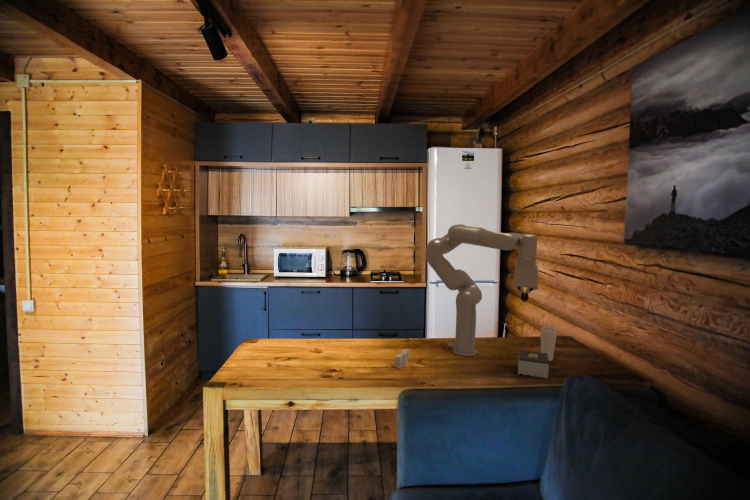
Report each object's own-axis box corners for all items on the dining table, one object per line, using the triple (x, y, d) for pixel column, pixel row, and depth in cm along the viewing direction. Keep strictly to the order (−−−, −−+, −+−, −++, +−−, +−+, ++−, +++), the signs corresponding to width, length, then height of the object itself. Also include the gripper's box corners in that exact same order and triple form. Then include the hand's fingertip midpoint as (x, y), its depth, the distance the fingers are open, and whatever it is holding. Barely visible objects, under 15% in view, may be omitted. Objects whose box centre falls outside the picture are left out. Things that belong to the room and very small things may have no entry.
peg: (527, 369, 183) (528, 356, 182) (527, 366, 187) (528, 353, 186) (537, 370, 182) (538, 357, 181) (537, 367, 186) (538, 354, 185)
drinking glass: (555, 362, 195) (558, 331, 194) (540, 361, 197) (542, 330, 195) (552, 357, 202) (555, 327, 200) (538, 356, 203) (540, 326, 202)
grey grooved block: (406, 357, 198) (406, 346, 198) (421, 365, 189) (421, 353, 188) (379, 363, 190) (380, 351, 189) (394, 372, 181) (394, 359, 180)
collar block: (517, 374, 181) (518, 358, 180) (517, 364, 192) (518, 349, 191) (547, 378, 177) (548, 362, 176) (546, 368, 188) (547, 353, 187)
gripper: (509, 261, 187) (506, 301, 189) (545, 263, 183) (542, 305, 185) (509, 259, 195) (507, 298, 196) (544, 261, 190) (541, 301, 192)
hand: (524, 301), depth 191 cm, fingers closed
